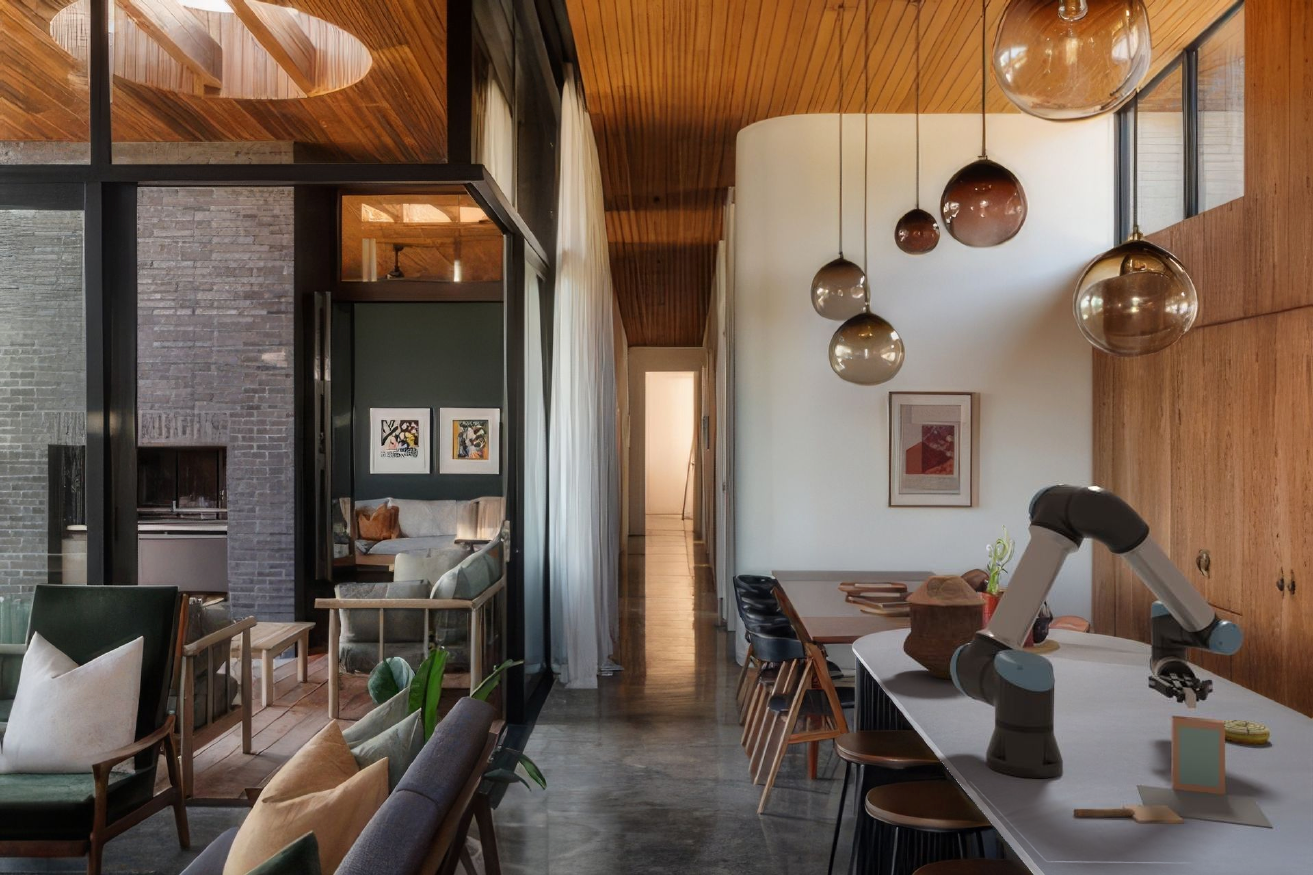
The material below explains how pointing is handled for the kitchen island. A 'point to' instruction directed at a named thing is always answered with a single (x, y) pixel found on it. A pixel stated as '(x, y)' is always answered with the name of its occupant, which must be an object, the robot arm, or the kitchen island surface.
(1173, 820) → the wooden turner
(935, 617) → the pottery vessel
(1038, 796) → the kitchen island surface
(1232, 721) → the decorated donut
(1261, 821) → the mat
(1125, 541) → the robot arm
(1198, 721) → the tile
